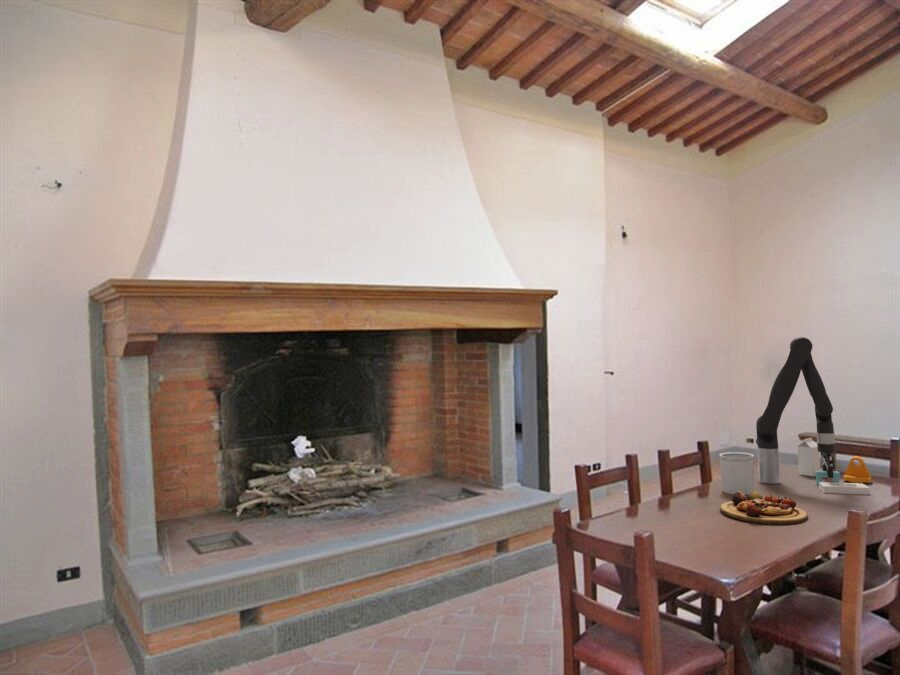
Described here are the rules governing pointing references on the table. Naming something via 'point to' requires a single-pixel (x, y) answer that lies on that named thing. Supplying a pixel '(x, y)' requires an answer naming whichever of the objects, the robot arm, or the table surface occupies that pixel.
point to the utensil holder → (737, 472)
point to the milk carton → (808, 458)
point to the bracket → (857, 472)
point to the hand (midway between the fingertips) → (828, 475)
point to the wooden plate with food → (763, 509)
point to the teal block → (824, 474)
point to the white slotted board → (844, 488)
